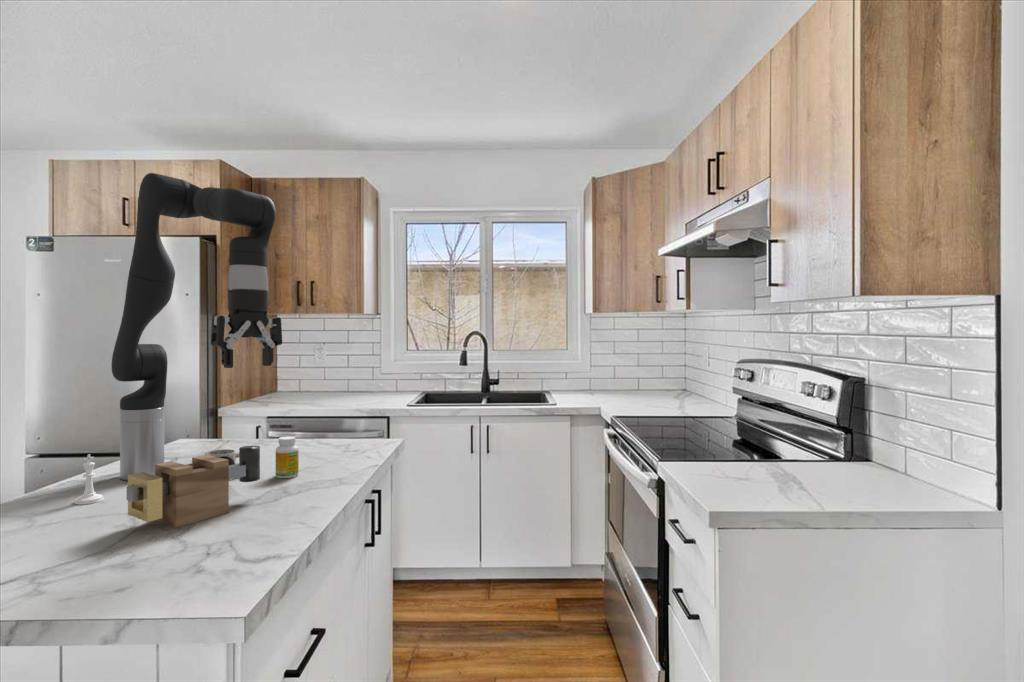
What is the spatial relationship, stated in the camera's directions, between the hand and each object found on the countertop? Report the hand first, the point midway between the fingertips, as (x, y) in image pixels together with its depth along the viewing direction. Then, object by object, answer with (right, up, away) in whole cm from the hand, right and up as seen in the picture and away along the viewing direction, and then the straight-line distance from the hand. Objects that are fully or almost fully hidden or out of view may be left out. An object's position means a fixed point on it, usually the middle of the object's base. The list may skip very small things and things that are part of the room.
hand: (248, 366), depth 112 cm
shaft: (-8, -25, -4) cm, 26 cm away
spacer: (-13, -27, -13) cm, 32 cm away
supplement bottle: (-2, -29, +25) cm, 39 cm away
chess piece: (-36, -29, +4) cm, 46 cm away
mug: (-16, -29, +23) cm, 41 cm away
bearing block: (-8, -29, -5) cm, 31 cm away
